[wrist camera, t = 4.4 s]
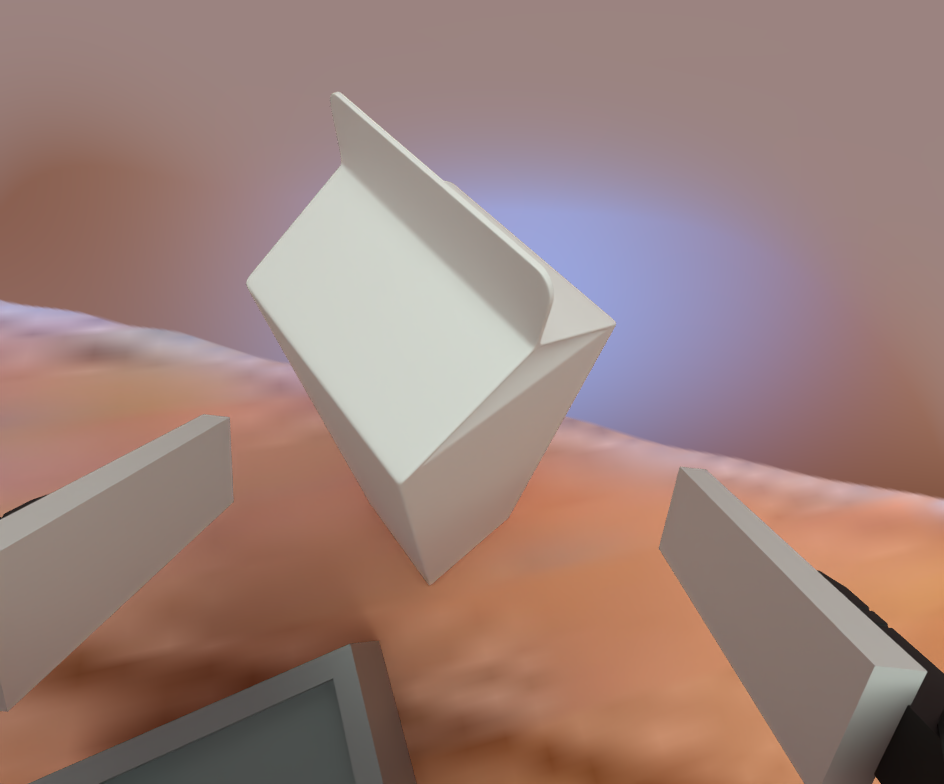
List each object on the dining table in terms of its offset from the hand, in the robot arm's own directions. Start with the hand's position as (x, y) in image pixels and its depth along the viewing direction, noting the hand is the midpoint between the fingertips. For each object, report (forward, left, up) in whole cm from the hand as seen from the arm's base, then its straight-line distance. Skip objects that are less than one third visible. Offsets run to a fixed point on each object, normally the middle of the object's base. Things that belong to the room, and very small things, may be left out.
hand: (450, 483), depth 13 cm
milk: (-3, 0, -14) cm, 14 cm away
